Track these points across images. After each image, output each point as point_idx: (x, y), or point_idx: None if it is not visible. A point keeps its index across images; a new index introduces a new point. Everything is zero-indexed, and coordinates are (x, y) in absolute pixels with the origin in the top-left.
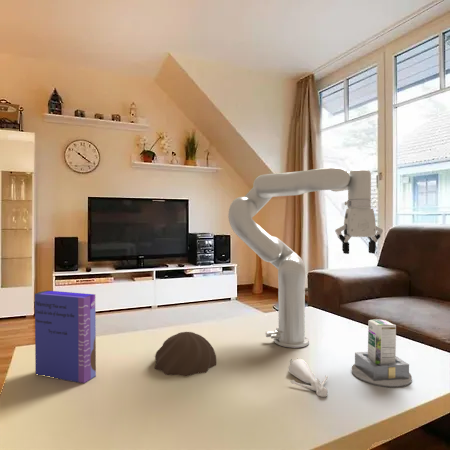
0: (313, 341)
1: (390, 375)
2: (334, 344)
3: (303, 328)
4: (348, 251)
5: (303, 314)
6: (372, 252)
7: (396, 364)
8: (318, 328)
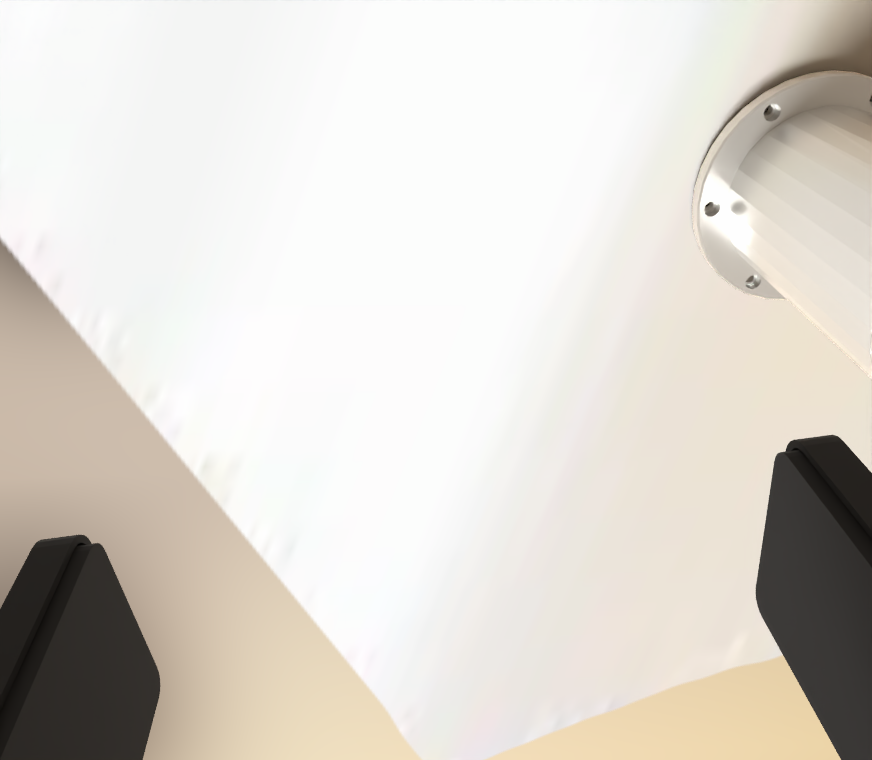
0: (652, 205)
1: None
2: (536, 146)
3: (800, 169)
4: (833, 466)
5: (858, 203)
6: (100, 568)
7: None
8: (521, 439)
